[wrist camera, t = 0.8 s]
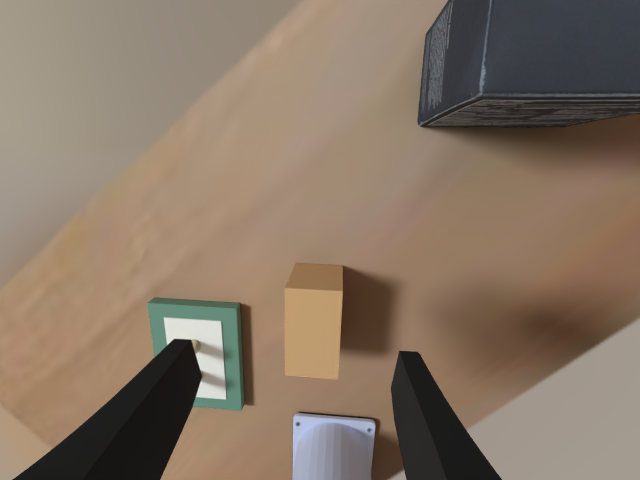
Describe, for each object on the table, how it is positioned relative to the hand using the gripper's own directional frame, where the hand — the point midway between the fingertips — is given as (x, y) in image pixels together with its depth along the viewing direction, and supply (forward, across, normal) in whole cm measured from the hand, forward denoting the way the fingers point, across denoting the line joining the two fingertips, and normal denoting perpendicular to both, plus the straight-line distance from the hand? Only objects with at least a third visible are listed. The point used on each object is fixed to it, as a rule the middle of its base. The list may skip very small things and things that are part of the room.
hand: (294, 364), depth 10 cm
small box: (+18, -12, -8) cm, 23 cm away
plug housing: (+13, 0, +9) cm, 16 cm away
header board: (+12, +11, +15) cm, 22 cm away
